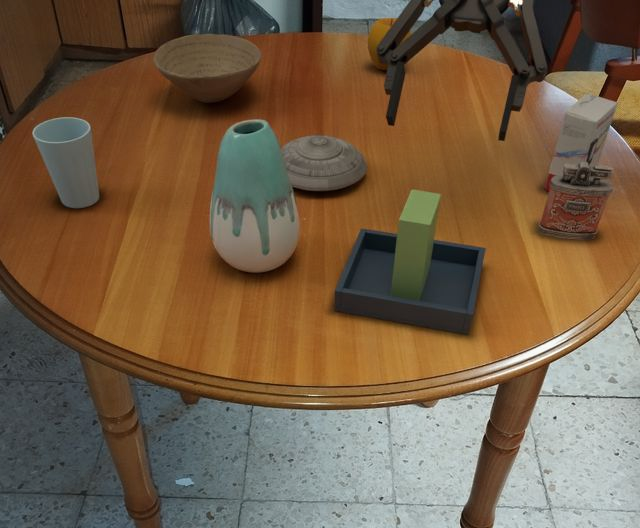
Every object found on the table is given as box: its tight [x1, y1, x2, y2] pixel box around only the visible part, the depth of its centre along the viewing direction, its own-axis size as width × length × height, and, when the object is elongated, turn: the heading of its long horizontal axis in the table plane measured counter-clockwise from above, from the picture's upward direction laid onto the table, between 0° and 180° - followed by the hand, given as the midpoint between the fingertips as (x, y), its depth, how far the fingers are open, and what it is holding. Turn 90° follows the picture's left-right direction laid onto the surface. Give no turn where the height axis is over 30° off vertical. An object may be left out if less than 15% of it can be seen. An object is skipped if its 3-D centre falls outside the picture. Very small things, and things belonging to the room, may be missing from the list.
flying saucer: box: [281, 134, 368, 192], centre depth 104 cm, size 15×15×6 cm
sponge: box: [391, 189, 442, 301], centre depth 82 cm, size 4×7×11 cm, turn 163°
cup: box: [31, 116, 100, 209], centre depth 96 cm, size 8×8×10 cm
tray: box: [333, 227, 487, 336], centre depth 85 cm, size 17×14×3 cm
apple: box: [367, 17, 412, 71], centre depth 130 cm, size 8×8×9 cm
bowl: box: [153, 33, 262, 104], centre depth 121 cm, size 18×18×8 cm
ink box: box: [544, 93, 618, 192], centre depth 100 cm, size 9×5×12 cm, turn 143°
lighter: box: [536, 161, 614, 240], centre depth 92 cm, size 8×3×10 cm, turn 80°
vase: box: [209, 118, 301, 274], centre depth 84 cm, size 12×12×18 cm
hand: (444, 129), depth 81 cm, fingers open, 13 cm apart
